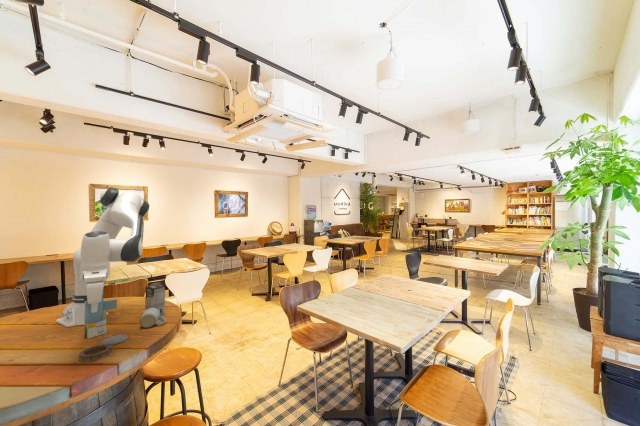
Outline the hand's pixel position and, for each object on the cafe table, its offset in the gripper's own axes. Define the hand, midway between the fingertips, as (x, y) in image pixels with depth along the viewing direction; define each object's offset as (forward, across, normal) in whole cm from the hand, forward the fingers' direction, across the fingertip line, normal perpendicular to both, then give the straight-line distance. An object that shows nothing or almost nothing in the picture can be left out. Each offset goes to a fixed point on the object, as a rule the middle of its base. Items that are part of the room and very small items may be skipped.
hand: (94, 309), depth 102 cm
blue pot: (+4, 0, +2) cm, 5 cm away
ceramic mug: (+18, -20, +23) cm, 35 cm away
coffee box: (+18, -34, +26) cm, 46 cm away
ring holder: (+18, 0, +1) cm, 18 cm away
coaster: (+18, -11, +7) cm, 22 cm away
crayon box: (+18, -23, +1) cm, 29 cm away
